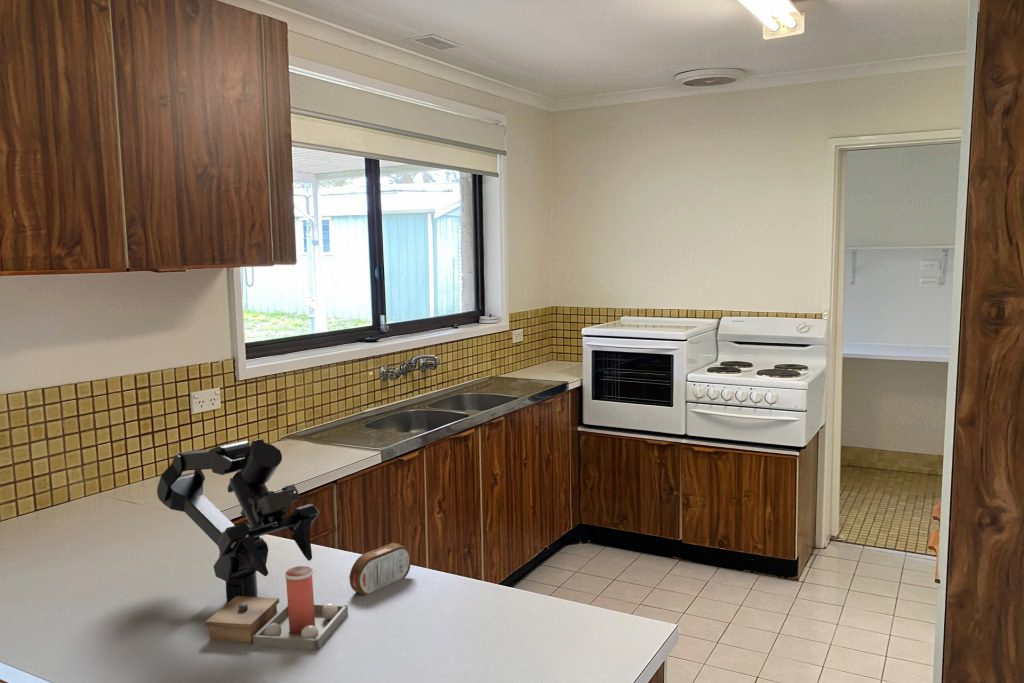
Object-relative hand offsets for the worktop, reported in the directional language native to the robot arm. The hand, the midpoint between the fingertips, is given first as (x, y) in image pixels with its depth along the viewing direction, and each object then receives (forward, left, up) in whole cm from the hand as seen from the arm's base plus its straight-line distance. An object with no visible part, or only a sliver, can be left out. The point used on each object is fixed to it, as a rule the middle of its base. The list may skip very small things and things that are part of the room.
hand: (289, 567), depth 147 cm
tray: (+2, +3, -12) cm, 12 cm away
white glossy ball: (+6, +6, -11) cm, 14 cm away
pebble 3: (-3, +6, -11) cm, 13 cm away
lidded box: (+3, -8, -12) cm, 15 cm away
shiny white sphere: (+6, -1, -11) cm, 13 cm away
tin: (-19, +11, -12) cm, 25 cm away
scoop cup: (+2, +3, -11) cm, 12 cm away
